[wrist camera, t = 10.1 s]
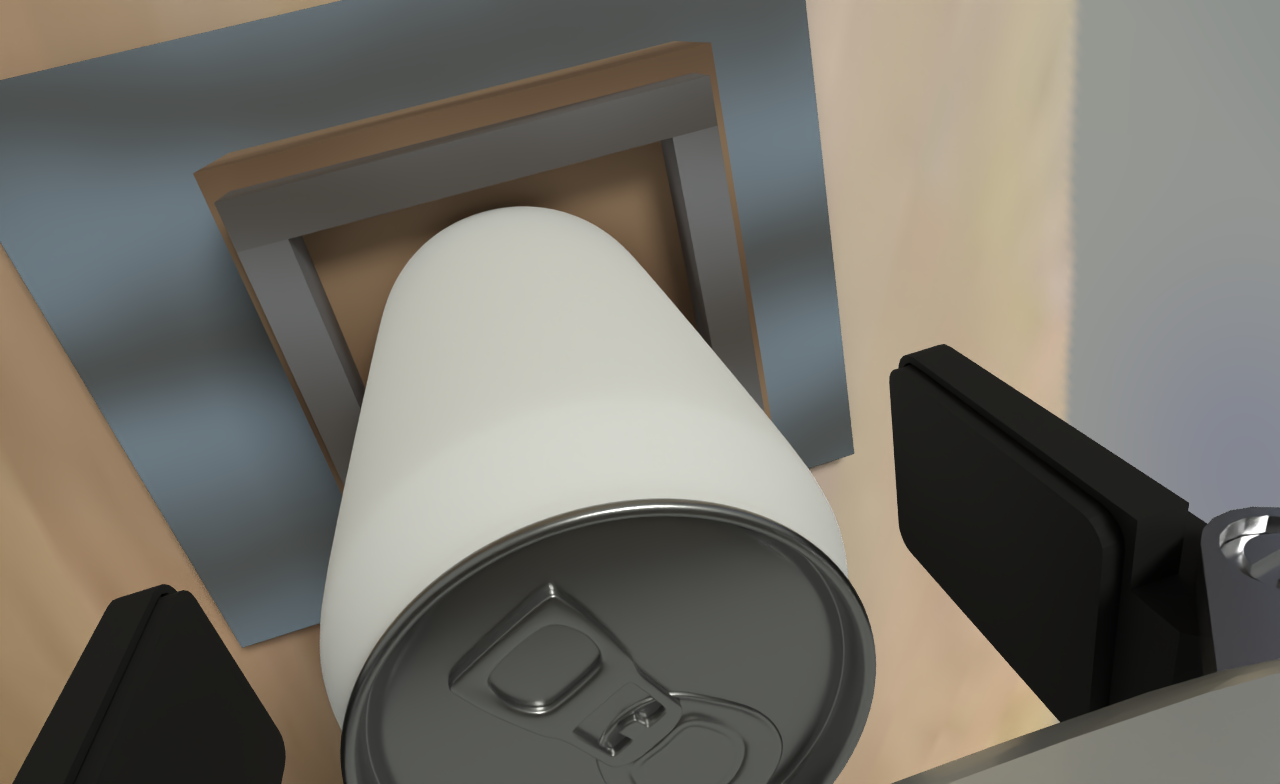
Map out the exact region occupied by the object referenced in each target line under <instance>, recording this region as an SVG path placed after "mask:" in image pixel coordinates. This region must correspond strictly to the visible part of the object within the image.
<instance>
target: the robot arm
mask: <svg viewBox="0 0 1280 784" xmlns="http://www.w3.org/2000/svg"><path fill="white" fill-rule="evenodd" d="M889 384H890V399H891V414H892V429H893V444H894V459H895V474H896V489H897V504H898V520H899V529H900V532H901V536H902V538H903V541H904V543H905V545H906V546H907V548H908V549H909V551H910V552H911V553H912V554H913V556H914V557H915V558H916V559H917V560H918V561H919V562H920V564H921V565H922V566H923V567H924V568H925V569H926V570H927V571H928V573H929V574H930V575H931V576H932V577H933V578H934V579H935V581H936V582H937V583H938V584H939V585H940V586H941V587H942V589H943V590H944V591H945V592H946V593H947V594H948V595H949V596H950V598H951V599H952V600H953V601H954V602H955V603H956V604H957V606H958V607H959V608H960V609H961V610H962V611H963V612H964V613H965V615H966V616H967V617H968V618H969V619H970V620H971V621H972V623H973V624H974V625H975V626H976V627H977V628H978V629H979V631H980V632H981V633H982V634H983V635H984V636H985V637H986V638H987V640H988V641H989V642H990V643H991V644H992V645H993V646H994V648H995V649H996V650H997V651H998V652H999V653H1000V654H1001V656H1002V657H1003V658H1004V659H1005V660H1006V661H1007V662H1008V663H1009V665H1010V666H1011V667H1012V668H1013V669H1014V670H1015V671H1016V673H1017V674H1018V675H1019V676H1020V677H1021V678H1022V679H1023V680H1024V682H1025V683H1026V684H1027V685H1028V686H1029V687H1030V688H1031V690H1032V691H1033V692H1034V693H1035V694H1036V695H1037V696H1038V698H1039V699H1040V700H1041V701H1042V702H1043V703H1044V704H1045V705H1046V707H1047V708H1048V709H1049V710H1050V711H1051V712H1052V713H1053V715H1054V716H1055V717H1056V718H1057V719H1058V720H1059V721H1060V723H1058V724H1055V725H1052V726H1049V727H1046V728H1043V729H1040V730H1038V731H1035V732H1032V733H1029V734H1026V735H1023V736H1020V737H1017V738H1014V739H1012V740H1009V741H1006V742H1004V743H1001V744H998V745H995V746H993V747H990V748H987V749H984V750H982V751H979V752H976V753H974V754H971V755H968V756H965V757H963V758H960V759H957V760H954V761H952V762H949V763H946V764H944V765H941V766H938V767H935V768H933V769H930V770H927V771H924V772H922V773H919V774H916V775H914V776H911V777H908V778H905V779H903V780H900V781H897V782H894V783H892V784H1280V508H1279V507H1248V508H1243V509H1236V510H1230V511H1228V512H1226V513H1223V514H1221V515H1219V516H1216V517H1214V518H1213V519H1212V520H1211V521H1210V522H1209V523H1208V524H1207V523H1205V522H1204V521H1202V520H1201V519H1199V518H1198V517H1196V516H1195V515H1193V514H1192V513H1190V512H1189V511H1188V508H1189V503H1188V502H1187V501H1185V500H1184V499H1182V498H1180V497H1179V496H1178V495H1176V494H1175V493H1173V492H1172V491H1170V490H1168V489H1167V488H1165V487H1164V486H1162V485H1161V484H1159V483H1158V482H1156V481H1155V480H1153V479H1152V478H1150V477H1149V476H1147V475H1145V474H1144V473H1143V472H1141V471H1139V470H1138V469H1136V468H1135V467H1133V466H1132V465H1130V464H1129V463H1127V462H1126V461H1124V460H1123V459H1121V458H1120V457H1118V456H1117V455H1115V454H1113V453H1112V452H1110V451H1109V450H1107V449H1106V448H1104V447H1103V446H1101V445H1100V444H1098V443H1097V442H1095V441H1093V440H1092V439H1090V438H1089V437H1087V436H1086V435H1084V434H1083V433H1081V432H1080V431H1078V430H1077V429H1075V428H1074V427H1072V426H1071V425H1069V424H1068V423H1066V422H1065V421H1063V420H1061V419H1060V418H1058V417H1057V416H1055V415H1054V414H1052V413H1051V412H1049V411H1048V410H1046V409H1045V408H1043V407H1042V406H1040V405H1039V404H1037V403H1035V402H1034V401H1032V400H1031V399H1029V398H1028V397H1026V396H1025V395H1023V394H1022V393H1020V392H1019V391H1017V390H1016V389H1014V388H1013V387H1011V386H1009V385H1008V384H1006V383H1005V382H1003V381H1002V380H1000V379H999V378H997V377H996V376H994V375H993V374H991V373H990V372H988V371H987V370H985V369H983V368H982V367H980V366H979V365H977V364H976V363H974V362H973V361H971V360H970V359H968V358H967V357H965V356H964V355H962V354H961V353H959V352H957V351H956V350H954V349H953V348H951V347H950V346H947V345H945V344H942V345H937V346H934V347H931V348H928V349H924V350H921V351H918V352H915V353H911V354H908V355H905V356H903V357H902V358H901V359H900V363H899V369H895V370H893V371H892V372H891V374H890V380H889ZM285 758H286V757H285V746H284V742H283V739H282V736H281V734H280V732H279V730H278V728H277V727H276V725H275V724H274V722H273V720H272V719H271V717H270V716H269V714H268V712H267V711H266V709H265V708H264V706H263V705H262V703H261V701H260V700H259V698H258V697H257V695H256V693H255V692H254V690H253V689H252V687H251V686H250V684H249V682H248V681H247V679H246V678H245V676H244V674H243V673H242V671H241V670H240V668H239V667H238V665H237V663H236V662H235V660H234V659H233V657H232V655H231V654H230V652H229V651H228V649H227V648H226V646H225V644H224V643H223V641H222V640H221V638H220V636H219V635H218V633H217V632H216V630H215V628H214V627H213V625H212V624H211V622H210V621H209V619H208V617H207V616H206V614H205V613H204V611H203V609H202V608H201V606H200V605H199V603H198V602H197V600H196V598H195V597H194V596H193V595H192V594H191V593H190V592H188V591H185V590H182V591H179V592H177V591H176V590H175V589H174V588H173V587H171V586H170V585H165V584H162V585H159V586H156V587H152V588H149V589H146V590H143V591H139V592H136V593H133V594H130V595H126V596H123V597H120V598H117V599H115V600H113V601H112V602H111V603H110V604H109V606H108V607H107V609H106V611H105V612H104V614H103V616H102V618H101V620H100V622H99V624H98V625H97V627H96V629H95V631H94V633H93V635H92V637H91V638H90V640H89V642H88V644H87V646H86V648H85V650H84V651H83V653H82V655H81V657H80V659H79V661H78V663H77V665H76V666H75V668H74V670H73V672H72V674H71V676H70V678H69V679H68V681H67V683H66V685H65V687H64V689H63V691H62V692H61V694H60V696H59V698H58V700H57V702H56V704H55V705H54V707H53V709H52V711H51V713H50V715H49V717H48V718H47V720H46V722H45V724H44V726H43V728H42V730H41V731H40V733H39V735H38V737H37V739H36V741H35V743H34V744H33V746H32V748H31V750H30V752H29V754H28V756H27V757H26V759H25V761H24V763H23V765H22V767H21V769H20V771H19V772H18V774H17V776H16V778H15V780H14V782H13V784H281V782H282V777H283V772H284V766H285Z"/></svg>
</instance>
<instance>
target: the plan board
mask: <svg viewBox="0 0 1280 784" xmlns="http://www.w3.org/2000/svg"><path fill="white" fill-rule="evenodd" d="M516 206H530V207H541V208H548V209H554V210H558V211H562V212H565V213H568V214H571V215H574V216H577V217H579V218H582V219H584V220H586V221H588V222H590V223H592V224H594V225H595V226H597V227H599V228H600V229H602V230H603V231H605V232H606V233H608V234H609V235H610V236H612V237H613V238H614V239H615V240H617V241H618V242H619V243H620V244H621V245H622V246H623V247H624V248H625V249H626V250H627V251H628V252H629V253H630V254H631V255H632V256H633V257H634V258H635V259H636V261H637V262H638V263H639V264H640V265H641V266H642V267H643V268H644V270H645V271H646V272H647V273H648V274H649V275H650V277H651V278H652V279H653V280H654V281H655V282H656V284H657V285H658V286H659V287H660V288H661V289H662V291H663V292H664V293H665V294H666V295H667V296H668V298H669V299H670V300H671V301H672V302H673V304H674V305H675V306H676V307H677V308H678V309H679V311H680V312H681V313H682V314H683V315H684V317H685V318H686V319H687V320H688V321H689V322H690V324H691V325H692V326H693V327H694V328H695V330H696V331H697V332H698V333H699V334H700V336H701V337H702V338H703V339H704V340H705V342H706V343H707V344H708V345H709V346H710V348H711V349H712V350H713V351H714V352H715V353H716V355H717V356H718V357H719V358H720V359H721V361H722V362H723V363H724V364H725V365H726V367H727V368H728V369H729V370H730V371H731V373H732V374H733V375H734V376H735V378H736V379H737V380H738V381H739V382H740V384H741V385H742V386H743V387H744V388H745V390H746V391H747V392H748V393H749V394H750V396H751V397H752V398H753V399H754V400H755V402H756V403H757V404H758V405H759V407H760V408H761V409H762V410H763V411H764V413H765V414H766V415H767V416H768V418H769V419H770V420H771V421H772V423H773V424H774V425H775V426H776V427H777V429H778V430H779V431H780V432H781V434H782V435H783V436H784V437H785V439H786V440H787V441H788V442H789V444H790V445H791V446H792V447H793V449H794V450H795V451H796V453H797V454H798V455H799V457H800V458H801V459H802V461H803V462H804V463H805V465H806V466H807V467H808V468H811V467H814V466H817V465H821V464H824V463H827V462H830V461H833V460H836V459H839V458H843V457H846V456H849V455H852V454H854V448H853V438H852V429H851V420H850V410H849V401H848V392H847V383H846V373H845V364H844V355H843V345H842V336H841V327H840V317H839V308H838V299H837V290H836V280H835V271H834V262H833V252H832V243H831V234H830V225H829V215H828V206H827V197H826V187H825V178H824V169H823V159H822V150H821V141H820V132H819V122H818V113H817V104H816V94H815V85H814V76H813V67H812V57H811V48H810V39H809V29H808V20H807V11H806V1H805V0H342V1H337V2H333V3H329V4H325V5H320V6H316V7H312V8H307V9H303V10H299V11H295V12H290V13H286V14H282V15H278V16H273V17H269V18H265V19H260V20H256V21H252V22H248V23H243V24H239V25H235V26H231V27H226V28H222V29H218V30H213V31H209V32H205V33H201V34H196V35H192V36H188V37H184V38H179V39H175V40H171V41H166V42H162V43H158V44H154V45H149V46H145V47H141V48H136V49H132V50H128V51H124V52H119V53H115V54H111V55H107V56H102V57H98V58H94V59H89V60H85V61H81V62H77V63H72V64H68V65H64V66H60V67H55V68H51V69H47V70H42V71H38V72H34V73H30V74H25V75H21V76H17V77H13V78H8V79H4V80H0V242H1V244H2V246H3V247H4V249H5V251H6V252H7V254H8V256H9V257H10V259H11V261H12V263H13V264H14V266H15V268H16V269H17V271H18V273H19V274H20V276H21V278H22V279H23V281H24V283H25V284H26V286H27V288H28V289H29V291H30V293H31V294H32V296H33V298H34V299H35V301H36V303H37V304H38V306H39V308H40V310H41V311H42V313H43V315H44V316H45V318H46V320H47V321H48V323H49V325H50V326H51V328H52V330H53V331H54V333H55V335H56V336H57V338H58V340H59V341H60V343H61V345H62V346H63V348H64V350H65V351H66V353H67V355H68V357H69V358H70V360H71V362H72V363H73V365H74V367H75V368H76V370H77V372H78V373H79V375H80V377H81V378H82V380H83V382H84V383H85V385H86V387H87V388H88V390H89V392H90V393H91V395H92V397H93V398H94V400H95V402H96V404H97V405H98V407H99V409H100V410H101V412H102V414H103V415H104V417H105V419H106V420H107V422H108V424H109V425H110V427H111V429H112V430H113V432H114V434H115V435H116V437H117V439H118V440H119V442H120V444H121V446H122V447H123V449H124V451H125V452H126V454H127V456H128V457H129V459H130V461H131V462H132V464H133V466H134V467H135V469H136V471H137V472H138V474H139V476H140V477H141V479H142V481H143V482H144V484H145V486H146V487H147V489H148V491H149V493H150V494H151V496H152V498H153V499H154V501H155V503H156V504H157V506H158V508H159V509H160V511H161V513H162V514H163V516H164V518H165V519H166V521H167V523H168V524H169V526H170V528H171V529H172V531H173V533H174V534H175V536H176V538H177V540H178V541H179V543H180V545H181V546H182V548H183V550H184V551H185V553H186V555H187V556H188V558H189V560H190V561H191V563H192V565H193V566H194V568H195V570H196V571H197V573H198V575H199V576H200V578H201V580H202V581H203V583H204V585H205V587H206V588H207V590H208V592H209V593H210V595H211V597H212V598H213V600H214V602H215V603H216V605H217V607H218V608H219V610H220V612H221V613H222V615H223V617H224V618H225V620H226V622H227V623H228V625H229V627H230V628H231V630H232V632H233V634H234V635H235V637H236V639H237V640H238V642H239V644H240V645H241V647H242V648H243V647H246V646H249V645H252V644H255V643H258V642H262V641H265V640H268V639H271V638H274V637H277V636H281V635H284V634H287V633H290V632H293V631H296V630H300V629H303V628H306V627H309V626H312V625H315V624H318V623H320V619H321V608H322V602H323V595H324V589H325V583H326V577H327V571H328V565H329V560H330V555H331V550H332V545H333V540H334V535H335V530H336V525H337V520H338V515H339V510H340V505H341V501H342V496H343V491H344V486H345V482H346V477H347V472H348V467H349V463H350V458H351V453H352V449H353V444H354V439H355V435H356V430H357V426H358V421H359V416H360V412H361V407H362V403H363V398H364V393H365V389H366V384H367V380H368V375H369V371H370V366H371V362H372V357H373V353H374V349H375V344H376V340H377V335H378V331H379V327H380V323H381V319H382V315H383V312H384V308H385V305H386V302H387V299H388V297H389V294H390V292H391V289H392V287H393V285H394V283H395V281H396V280H397V278H398V276H399V274H400V273H401V271H402V270H403V268H404V267H405V265H406V264H407V263H408V261H409V260H410V259H411V258H412V256H413V255H414V254H415V253H416V252H417V251H418V250H419V249H420V248H421V247H422V246H423V245H424V244H425V243H426V242H427V241H428V240H430V239H431V238H432V237H433V236H435V235H436V234H438V233H439V232H440V231H442V230H443V229H445V228H447V227H448V226H450V225H452V224H454V223H456V222H458V221H460V220H462V219H464V218H467V217H469V216H472V215H474V214H478V213H481V212H484V211H488V210H493V209H498V208H505V207H516Z"/></svg>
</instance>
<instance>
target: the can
mask: <svg viewBox="0 0 1280 784" xmlns="http://www.w3.org/2000/svg"><path fill="white" fill-rule="evenodd" d="M320 661H321V670H322V676H323V681H324V685H325V689H326V692H327V695H328V698H329V702H330V705H331V708H332V710H333V713H334V715H335V718H336V720H337V722H338V724H339V726H340V729H341V731H342V735H341V751H340V754H341V770H342V777H343V783H344V784H833V783H834V781H835V780H836V779H837V777H838V776H839V774H840V773H841V771H842V770H843V768H844V767H845V765H846V763H847V762H848V760H849V758H850V757H851V755H852V753H853V751H854V749H855V747H856V745H857V743H858V741H859V739H860V736H861V734H862V732H863V729H864V726H865V724H866V721H867V718H868V715H869V711H870V707H871V703H872V699H873V694H874V687H875V677H876V654H875V645H874V639H873V634H872V629H871V626H870V622H869V619H868V616H867V614H866V611H865V608H864V606H863V604H862V602H861V600H860V598H859V596H858V594H857V592H856V591H855V589H854V587H853V586H852V584H851V583H850V581H849V580H848V569H847V561H846V555H845V549H844V545H843V540H842V536H841V532H840V529H839V526H838V523H837V520H836V518H835V515H834V513H833V510H832V508H831V506H830V504H829V502H828V500H827V498H826V496H825V495H824V493H823V491H822V489H821V488H820V486H819V484H818V483H817V481H816V479H815V478H814V476H813V475H812V473H811V472H810V470H809V469H808V467H807V466H806V465H805V463H804V462H803V461H802V459H801V458H800V457H799V455H798V454H797V453H796V451H795V450H794V449H793V447H792V446H791V445H790V444H789V442H788V441H787V440H786V439H785V437H784V436H783V435H782V434H781V432H780V431H779V430H778V429H777V427H776V426H775V425H774V424H773V423H772V421H771V420H770V419H769V418H768V416H767V415H766V414H765V413H764V411H763V410H762V409H761V408H760V407H759V405H758V404H757V403H756V402H755V400H754V399H753V398H752V397H751V396H750V394H749V393H748V392H747V391H746V390H745V388H744V387H743V386H742V385H741V384H740V382H739V381H738V380H737V379H736V378H735V376H734V375H733V374H732V373H731V371H730V370H729V369H728V368H727V367H726V365H725V364H724V363H723V362H722V361H721V359H720V358H719V357H718V356H717V355H716V353H715V352H714V351H713V350H712V349H711V348H710V346H709V345H708V344H707V343H706V342H705V340H704V339H703V338H702V337H701V336H700V334H699V333H698V332H697V331H696V330H695V328H694V327H693V326H692V325H691V324H690V322H689V321H688V320H687V319H686V318H685V317H684V315H683V314H682V313H681V312H680V311H679V309H678V308H677V307H676V306H675V305H674V304H673V302H672V301H671V300H670V299H669V298H668V296H667V295H666V294H665V293H664V292H663V291H662V289H661V288H660V287H659V286H658V285H657V284H656V282H655V281H654V280H653V279H652V278H651V277H650V275H649V274H648V273H647V272H646V271H645V270H644V268H643V267H642V266H641V265H640V264H639V263H638V262H637V261H636V259H635V258H634V257H633V256H632V255H631V254H630V253H629V252H628V251H627V250H626V249H625V248H624V247H623V246H622V245H621V244H620V243H619V242H618V241H617V240H615V239H614V238H613V237H612V236H610V235H609V234H608V233H606V232H605V231H603V230H602V229H600V228H599V227H597V226H595V225H594V224H592V223H590V222H588V221H586V220H584V219H582V218H579V217H577V216H574V215H571V214H568V213H565V212H562V211H558V210H554V209H548V208H541V207H530V206H516V207H505V208H498V209H493V210H488V211H484V212H481V213H478V214H474V215H472V216H469V217H467V218H464V219H462V220H460V221H458V222H456V223H454V224H452V225H450V226H448V227H447V228H445V229H443V230H442V231H440V232H439V233H438V234H436V235H435V236H433V237H432V238H431V239H430V240H428V241H427V242H426V243H425V244H424V245H423V246H422V247H421V248H420V249H419V250H418V251H417V252H416V253H415V254H414V255H413V256H412V258H411V259H410V260H409V261H408V263H407V264H406V265H405V267H404V268H403V270H402V271H401V273H400V274H399V276H398V278H397V280H396V281H395V283H394V285H393V287H392V289H391V292H390V294H389V297H388V299H387V302H386V305H385V308H384V312H383V315H382V319H381V323H380V327H379V331H378V335H377V340H376V344H375V349H374V353H373V357H372V362H371V366H370V371H369V375H368V380H367V384H366V389H365V393H364V398H363V403H362V407H361V412H360V416H359V421H358V426H357V430H356V435H355V439H354V444H353V449H352V453H351V458H350V463H349V467H348V472H347V477H346V482H345V486H344V491H343V496H342V501H341V505H340V510H339V515H338V520H337V525H336V530H335V535H334V540H333V545H332V550H331V555H330V560H329V565H328V571H327V577H326V583H325V589H324V595H323V602H322V608H321V619H320Z"/></svg>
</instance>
